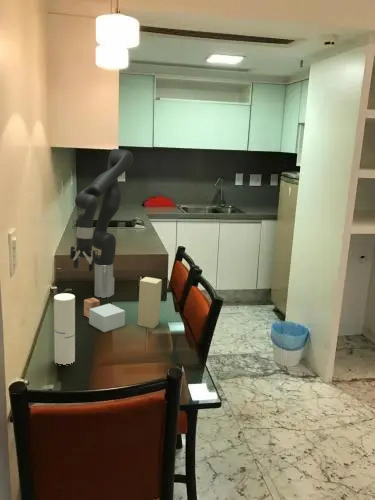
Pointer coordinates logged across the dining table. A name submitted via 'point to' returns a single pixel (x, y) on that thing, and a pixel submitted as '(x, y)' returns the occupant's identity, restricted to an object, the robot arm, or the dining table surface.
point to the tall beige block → (149, 302)
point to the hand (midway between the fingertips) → (83, 269)
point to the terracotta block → (90, 305)
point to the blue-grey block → (106, 317)
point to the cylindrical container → (64, 328)
